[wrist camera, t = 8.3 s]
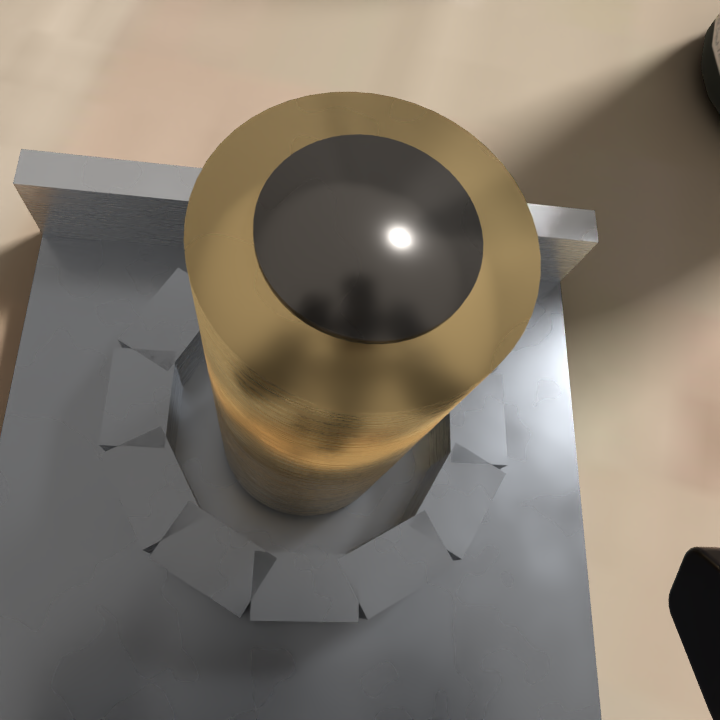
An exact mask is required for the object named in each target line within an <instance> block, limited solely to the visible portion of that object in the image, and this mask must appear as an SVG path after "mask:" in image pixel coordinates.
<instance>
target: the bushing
mask: <svg viewBox="0 0 720 720" xmlns="http://www.w3.org/2000/svg"><path fill="white" fill-rule="evenodd" d="M184 250H185V261H186V266H187V271H188V276H189V281H190V286H191V291H192V295H193V300H194V305H195V310H196V315H197V320H198V325H199V329H200V334H201V339H202V344H203V349H204V354H205V359H206V364H207V368H208V373H209V378H210V383H211V388H212V393H213V398H214V402H215V407H216V412H217V417H218V422H219V427H220V432H221V436H222V441H223V446H224V450H225V454H226V458H227V461H228V463H229V466H230V468H231V470H232V472H233V473H234V475H235V477H236V479H237V480H238V481H239V482H240V484H241V485H242V486H243V487H244V488H245V489H246V490H247V491H248V492H249V493H250V494H251V495H252V496H253V497H254V498H256V499H257V500H258V501H260V502H261V503H263V504H265V505H267V506H268V507H270V508H273V509H275V510H278V511H280V512H284V513H288V514H293V515H302V516H307V515H320V514H326V513H329V512H333V511H336V510H338V509H341V508H343V507H345V506H347V505H349V504H350V503H352V502H353V501H355V500H356V499H358V498H359V497H360V496H361V495H363V494H364V493H365V492H366V491H367V490H368V489H369V488H370V487H371V486H372V485H373V484H374V483H375V482H376V481H378V480H379V479H380V478H381V477H382V476H383V475H384V474H385V473H386V472H387V471H388V470H389V469H390V468H391V467H392V466H393V465H394V464H395V463H396V462H398V461H399V460H400V459H401V458H402V457H403V456H404V455H405V454H406V453H407V452H408V451H409V450H410V449H411V448H412V447H413V446H414V445H415V444H416V443H418V442H419V441H420V440H421V439H422V438H423V437H424V436H425V435H426V434H427V433H428V432H429V431H430V430H431V429H432V428H433V427H434V426H435V425H436V424H438V423H439V422H440V421H441V420H442V419H443V418H444V417H445V416H446V415H447V414H448V413H449V412H450V411H451V410H452V409H453V408H454V407H455V406H456V405H458V404H459V403H460V402H461V401H462V400H463V399H464V398H465V397H466V396H467V395H468V394H469V393H470V392H471V391H472V390H473V389H474V388H475V387H477V386H478V385H479V384H480V383H481V382H482V381H483V380H484V379H485V378H486V377H487V376H488V375H489V374H490V373H491V372H492V371H493V370H494V369H495V368H497V366H498V365H499V364H500V363H501V362H502V361H503V360H504V359H505V358H506V357H507V356H508V354H509V353H510V352H511V351H512V350H513V348H514V347H515V345H516V344H517V342H518V341H519V339H520V338H521V336H522V335H523V333H524V331H525V329H526V327H527V324H528V322H529V320H530V318H531V316H532V313H533V310H534V306H535V303H536V300H537V296H538V290H539V283H540V276H541V255H540V248H539V241H538V235H537V231H536V228H535V224H534V221H533V217H532V214H531V212H530V210H529V207H528V205H527V203H526V200H525V198H524V196H523V194H522V192H521V191H520V189H519V187H518V186H517V184H516V182H515V180H514V179H513V177H512V176H511V175H510V173H509V172H508V171H507V170H506V168H505V167H504V166H503V164H502V163H501V162H500V161H499V160H498V159H497V158H496V156H495V155H494V154H493V153H492V152H491V151H490V150H489V149H488V148H487V147H486V146H485V145H484V144H482V143H481V142H480V141H479V140H478V139H476V138H475V137H474V136H473V135H472V134H471V133H469V132H468V131H466V130H465V129H463V128H462V127H460V126H459V125H457V124H456V123H454V122H453V121H451V120H449V119H447V118H445V117H444V116H442V115H440V114H438V113H436V112H434V111H432V110H429V109H427V108H424V107H422V106H420V105H417V104H415V103H411V102H408V101H405V100H401V99H398V98H394V97H389V96H384V95H378V94H373V93H361V92H330V93H322V94H315V95H309V96H305V97H301V98H297V99H293V100H289V101H287V102H284V103H282V104H279V105H276V106H274V107H271V108H269V109H267V110H265V111H263V112H262V113H260V114H258V115H256V116H254V117H252V118H251V119H249V120H248V121H247V122H245V123H244V124H242V125H241V126H240V127H238V128H237V129H235V130H234V131H233V132H232V133H231V134H230V135H229V136H228V137H227V138H226V139H225V140H224V141H223V142H222V143H221V144H220V145H219V146H218V147H217V148H216V150H215V151H214V152H213V154H212V155H211V156H210V157H209V159H208V160H207V161H206V163H205V165H204V167H203V168H202V170H201V172H200V174H199V175H198V177H197V179H196V182H195V184H194V187H193V190H192V192H191V195H190V197H189V202H188V206H187V211H186V216H185V224H184Z"/></svg>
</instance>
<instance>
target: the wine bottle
mask: <svg viewBox="0 0 720 720" xmlns="http://www.w3.org/2000/svg"><path fill="white" fill-rule="evenodd" d="M701 71H702V75H703V78H704V82H705V86H706V90H707V93H708V97H709V99H710V101H711V102H712V104H713V105H714V107H715V108H716V110H717V111H718V113H719V114H720V14H719V15H718V16H717V18H716V19H715V20H714V22H713V23H712V24H711V26H710V27H709V29H708V30H707V32H706V35H705V40H704V47H703V54H702V61H701Z"/></svg>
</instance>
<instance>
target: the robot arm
mask: <svg viewBox="0 0 720 720" xmlns="http://www.w3.org/2000/svg"><path fill="white" fill-rule="evenodd" d="M669 609H670V613H671V616H672V618H673V621H674V623H675V626H676V629H677V631H678V634H679V636H680V639H681V641H682V644H683V646H684V649H685V651H686V654H687V656H688V659H689V661H690V664H691V666H692V669H693V671H694V674H695V676H696V679H697V681H698V684H699V687H700V689H701V692H702V694H703V697H704V699H705V702H706V704H707V707H708V709H709V711H710V714H711V716H712V718H713V720H720V548H717V547H694V548H691V549H690V550H689V551H687V552H686V554H685V556H684V558H683V561H682V563H681V566H680V568H679V571H678V573H677V575H676V578H675V580H674V583H673V585H672V588H671V590H670V593H669Z"/></svg>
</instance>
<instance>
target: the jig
mask: <svg viewBox="0 0 720 720" xmlns="http://www.w3.org/2000/svg"><path fill="white" fill-rule="evenodd" d="M201 170H202V168H194V167H185V166H175V165H166V164H157V163H147V162H138V161H129V160H119V159H110V158H101V157H91V156H82V155H73V154H63V153H54V152H45V151H35V150H26V149H21V152H20V156H19V161H18V165H17V169H16V174H15V178H14V182H13V184H14V186H15V188H16V189H17V191H18V193H19V194H20V196H21V198H22V200H23V201H24V203H25V205H26V207H27V208H28V210H29V212H30V213H31V215H32V217H33V219H34V220H35V222H36V224H37V226H38V227H39V229H40V231H41V232H42V234H43V236H42V240H41V245H40V250H39V255H38V260H37V264H36V269H35V274H34V279H33V283H32V288H31V293H30V298H29V303H28V307H27V312H26V317H25V322H24V327H23V331H22V336H21V341H20V346H19V350H18V355H17V360H16V365H15V370H14V374H13V379H12V384H11V389H10V393H9V398H8V403H7V408H6V413H5V417H4V422H3V427H2V432H1V436H0V720H601V710H600V699H599V689H598V678H597V668H596V657H595V646H594V636H593V625H592V615H591V604H590V593H589V583H588V572H587V561H586V551H585V540H584V530H583V519H582V508H581V498H580V487H579V476H578V466H577V455H576V445H575V434H574V423H573V413H572V402H571V391H570V381H569V370H568V360H567V349H566V338H565V328H564V317H563V306H562V296H561V285H560V281H561V280H562V279H563V278H564V277H565V276H566V275H567V274H568V273H569V272H570V271H571V270H572V269H573V268H574V267H575V266H576V265H577V264H578V263H579V262H580V261H581V260H582V259H583V258H584V257H585V256H586V255H587V254H588V253H589V252H590V251H591V250H592V249H593V247H594V246H595V245H596V244H597V243H598V242H599V241H598V233H597V224H596V216H595V210H586V209H576V208H567V207H558V206H548V205H539V204H530V203H527V205H528V207H529V210H530V212H531V214H532V217H533V221H534V224H535V228H536V231H537V235H538V241H539V248H540V255H541V276H540V283H539V290H538V296H537V300H536V303H535V306H534V310H533V313H532V316H531V318H530V320H529V322H528V324H527V327H526V329H525V331H524V333H523V335H522V336H521V338H520V339H519V341H518V342H517V344H516V345H515V347H514V348H513V350H512V351H511V352H510V353H509V354H508V356H507V357H506V358H505V359H504V360H503V361H502V362H501V363H500V364H499V365H498V366H497V368H495V369H494V370H493V371H492V372H491V373H490V374H489V375H488V376H487V377H486V378H485V379H484V380H483V381H482V382H481V383H480V384H479V385H478V386H477V387H475V388H474V389H473V390H472V391H471V392H470V393H469V394H468V395H467V396H466V397H465V398H464V399H463V400H462V401H461V402H460V403H459V404H458V405H456V406H455V407H454V408H453V409H452V410H451V411H450V412H449V413H448V414H447V415H446V416H445V417H444V418H443V419H442V420H441V421H440V422H439V423H438V424H436V425H435V426H434V427H433V428H432V429H431V430H430V431H429V432H428V433H427V434H426V435H425V436H424V437H423V438H422V439H421V440H420V441H419V442H418V443H416V444H415V445H414V446H413V447H412V448H411V449H410V450H409V451H408V452H407V453H406V454H405V455H404V456H403V457H402V458H401V459H400V460H399V461H398V462H396V463H395V464H394V465H393V466H392V467H391V468H390V469H389V470H388V471H387V472H386V473H385V474H384V475H383V476H382V477H381V478H380V479H379V480H378V481H376V482H375V483H374V484H373V485H372V486H371V487H370V488H369V489H368V490H367V491H366V492H365V493H364V494H363V495H361V496H360V497H359V498H358V499H356V500H355V501H353V502H352V503H350V504H349V505H347V506H345V507H343V508H341V509H338V510H336V511H333V512H329V513H326V514H320V515H307V516H302V515H293V514H288V513H284V512H280V511H278V510H275V509H273V508H270V507H268V506H267V505H265V504H263V503H261V502H260V501H258V500H257V499H256V498H254V497H253V496H252V495H251V494H250V493H249V492H248V491H247V490H246V489H245V488H244V487H243V486H242V485H241V484H240V482H239V481H238V480H237V479H236V477H235V475H234V473H233V472H232V470H231V468H230V466H229V463H228V461H227V458H226V454H225V450H224V446H223V441H222V436H221V432H220V427H219V422H218V417H217V412H216V407H215V402H214V398H213V393H212V388H211V383H210V378H209V373H208V368H207V364H206V359H205V354H204V349H203V344H202V339H201V334H200V329H199V325H198V320H197V315H196V310H195V305H194V300H193V295H192V291H191V286H190V281H189V276H188V271H187V266H186V261H185V250H184V224H185V216H186V211H187V206H188V202H189V197H190V195H191V192H192V190H193V187H194V184H195V182H196V179H197V177H198V175H199V174H200V172H201Z"/></svg>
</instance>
